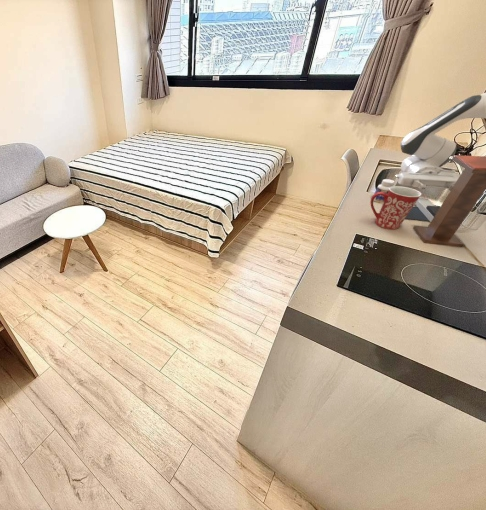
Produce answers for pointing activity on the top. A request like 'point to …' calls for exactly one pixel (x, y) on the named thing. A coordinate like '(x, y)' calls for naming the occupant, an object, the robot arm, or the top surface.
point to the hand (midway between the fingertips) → (438, 188)
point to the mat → (416, 215)
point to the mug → (395, 206)
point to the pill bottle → (383, 189)
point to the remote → (427, 208)
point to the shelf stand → (456, 203)
